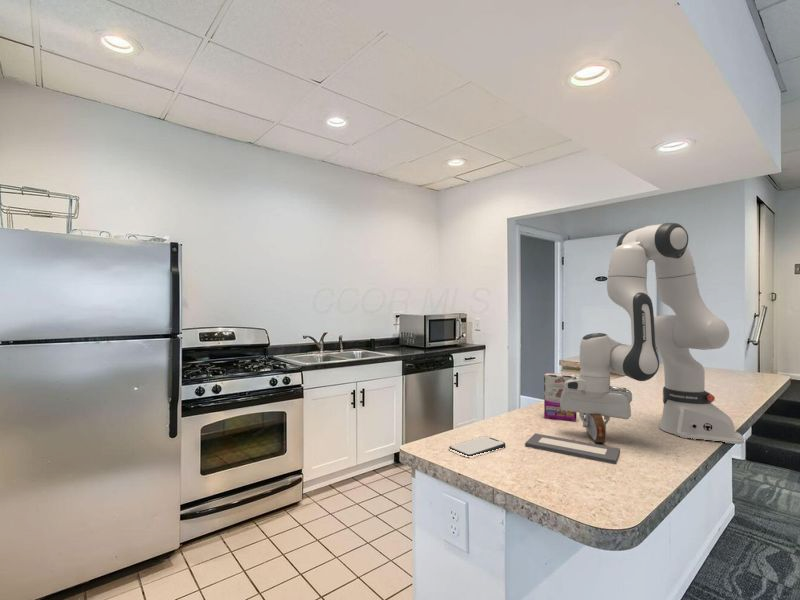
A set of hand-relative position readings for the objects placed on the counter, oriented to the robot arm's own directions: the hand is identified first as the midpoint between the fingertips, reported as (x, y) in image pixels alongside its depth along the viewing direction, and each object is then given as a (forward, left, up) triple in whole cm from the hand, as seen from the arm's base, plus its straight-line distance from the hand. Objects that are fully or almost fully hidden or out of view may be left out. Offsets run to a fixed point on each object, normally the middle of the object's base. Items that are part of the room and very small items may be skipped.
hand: (594, 428), depth 129 cm
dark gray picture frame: (+4, +14, -3) cm, 15 cm away
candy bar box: (+14, -18, -3) cm, 23 cm away
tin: (0, 0, -3) cm, 3 cm away
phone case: (+27, +30, -4) cm, 40 cm away
